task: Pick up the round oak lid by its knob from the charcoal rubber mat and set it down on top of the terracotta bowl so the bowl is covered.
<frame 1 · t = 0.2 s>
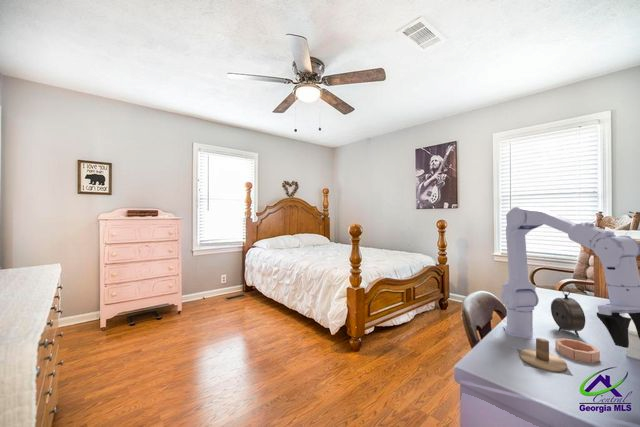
hand: (635, 345, 63), 10 cm above the table, tool pointing down, fingers open, 7 cm apart
mat: (542, 363, 74), on the table
alarm clock: (566, 332, 95), on the table
bowl: (576, 355, 79), on the table
lid: (542, 361, 74), point 1 cm above the table, touching mat
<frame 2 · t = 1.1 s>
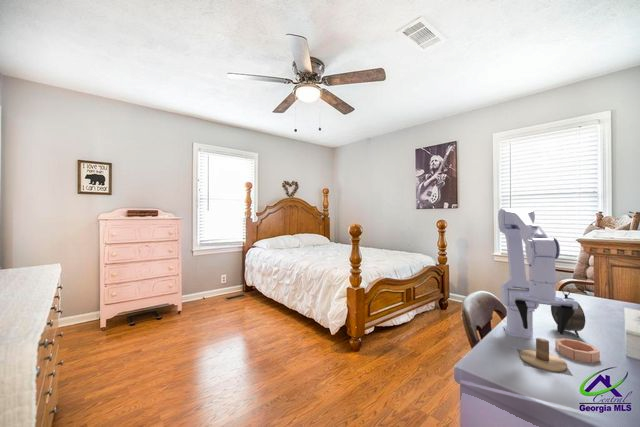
hand: (542, 330, 74), 9 cm above the table, tool pointing down, fingers open, 7 cm apart
nothing on the table moved.
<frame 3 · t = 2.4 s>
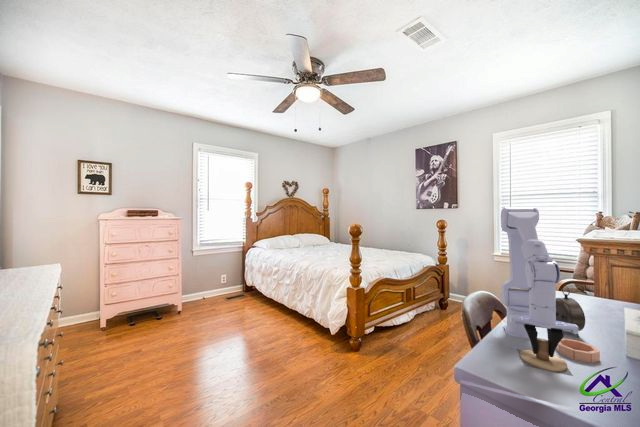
hand: (542, 354, 74), 3 cm above the table, tool pointing down, fingers closed on lid, 3 cm apart
lid: (542, 361, 74), point 1 cm above the table, touching gripper, mat
everything else where it was.
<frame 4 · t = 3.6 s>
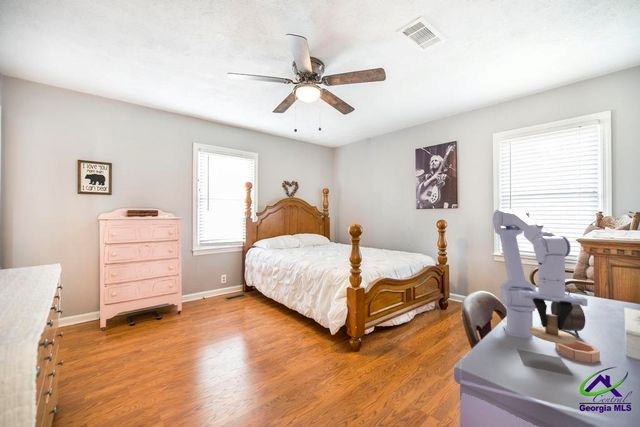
hand: (551, 327, 76), 10 cm above the table, tool pointing down, fingers closed on lid, 3 cm apart
lid: (551, 336, 75), point 7 cm above the table, touching gripper
everything else where it was.
when the fingers open (6 cm above the table, at t = 5.1 s): lid stays where it is, resting on bowl.
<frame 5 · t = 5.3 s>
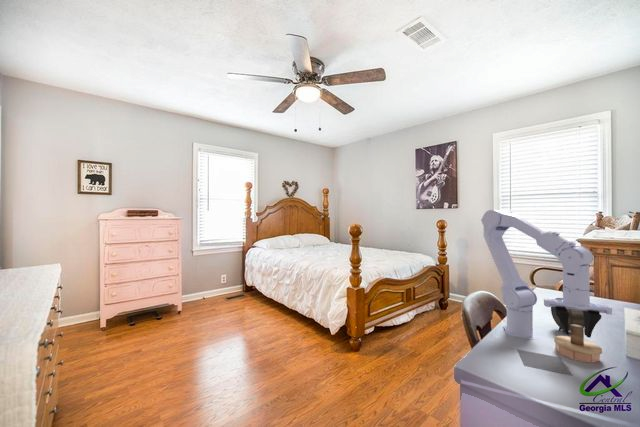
hand: (576, 334, 79), 6 cm above the table, tool pointing down, fingers open, 4 cm apart
lid: (577, 346, 78), point 3 cm above the table, touching bowl
everything else where it was.
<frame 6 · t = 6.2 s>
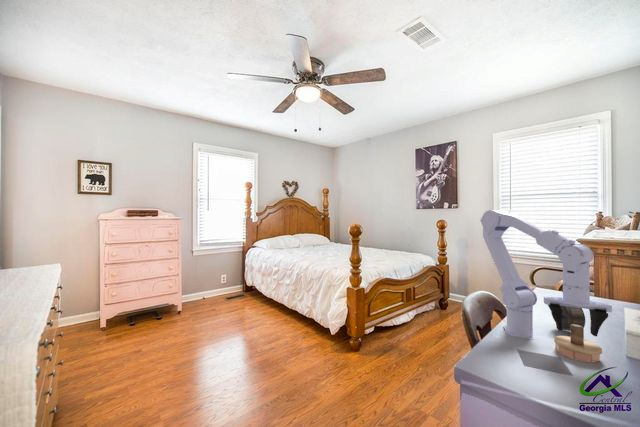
hand: (576, 332, 79), 7 cm above the table, tool pointing down, fingers open, 7 cm apart
nothing on the table moved.
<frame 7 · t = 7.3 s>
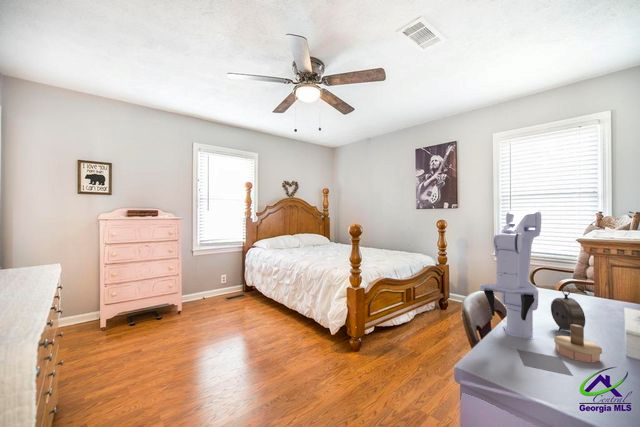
hand: (507, 317, 82), 10 cm above the table, tool pointing down, fingers open, 7 cm apart
nothing on the table moved.
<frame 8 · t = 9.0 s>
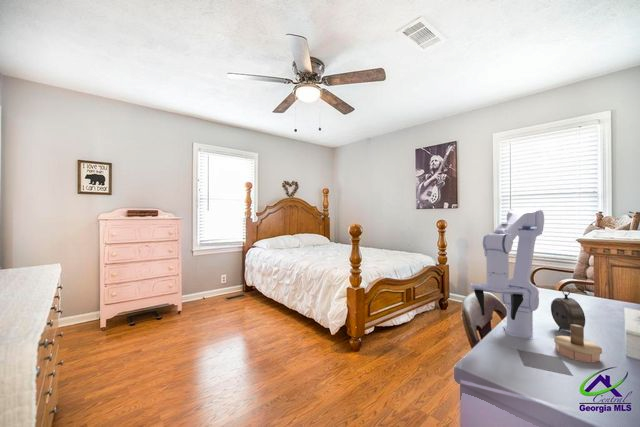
hand: (497, 316, 83), 10 cm above the table, tool pointing down, fingers open, 7 cm apart
nothing on the table moved.
at the end: lid 0.5 cm from the bowl (horizontally); lid inside the target area (0.5 cm from its centre), point 3.0 cm above the table; lid tilted 0° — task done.
